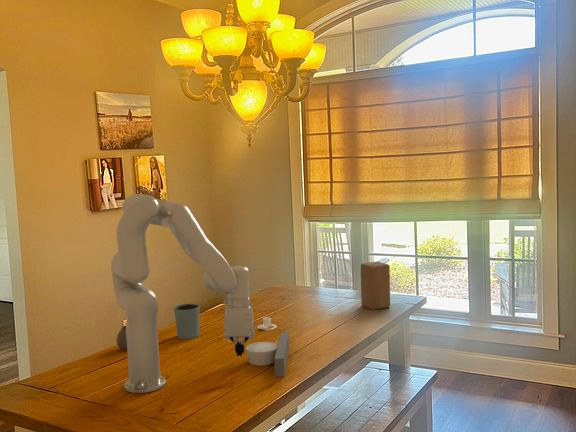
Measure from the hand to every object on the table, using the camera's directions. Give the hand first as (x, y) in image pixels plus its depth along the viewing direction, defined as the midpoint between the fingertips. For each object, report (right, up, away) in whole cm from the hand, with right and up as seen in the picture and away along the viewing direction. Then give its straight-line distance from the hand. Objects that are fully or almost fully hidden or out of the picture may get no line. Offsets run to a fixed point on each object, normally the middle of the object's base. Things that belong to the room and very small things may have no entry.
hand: (239, 354), depth 199 cm
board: (+15, -2, -1) cm, 15 cm away
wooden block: (+57, +6, +66) cm, 87 cm away
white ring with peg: (+5, +1, +40) cm, 40 cm away
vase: (-44, -2, +18) cm, 48 cm away
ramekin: (+8, -3, 0) cm, 8 cm away
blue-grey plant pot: (-23, 0, +32) cm, 39 cm away
